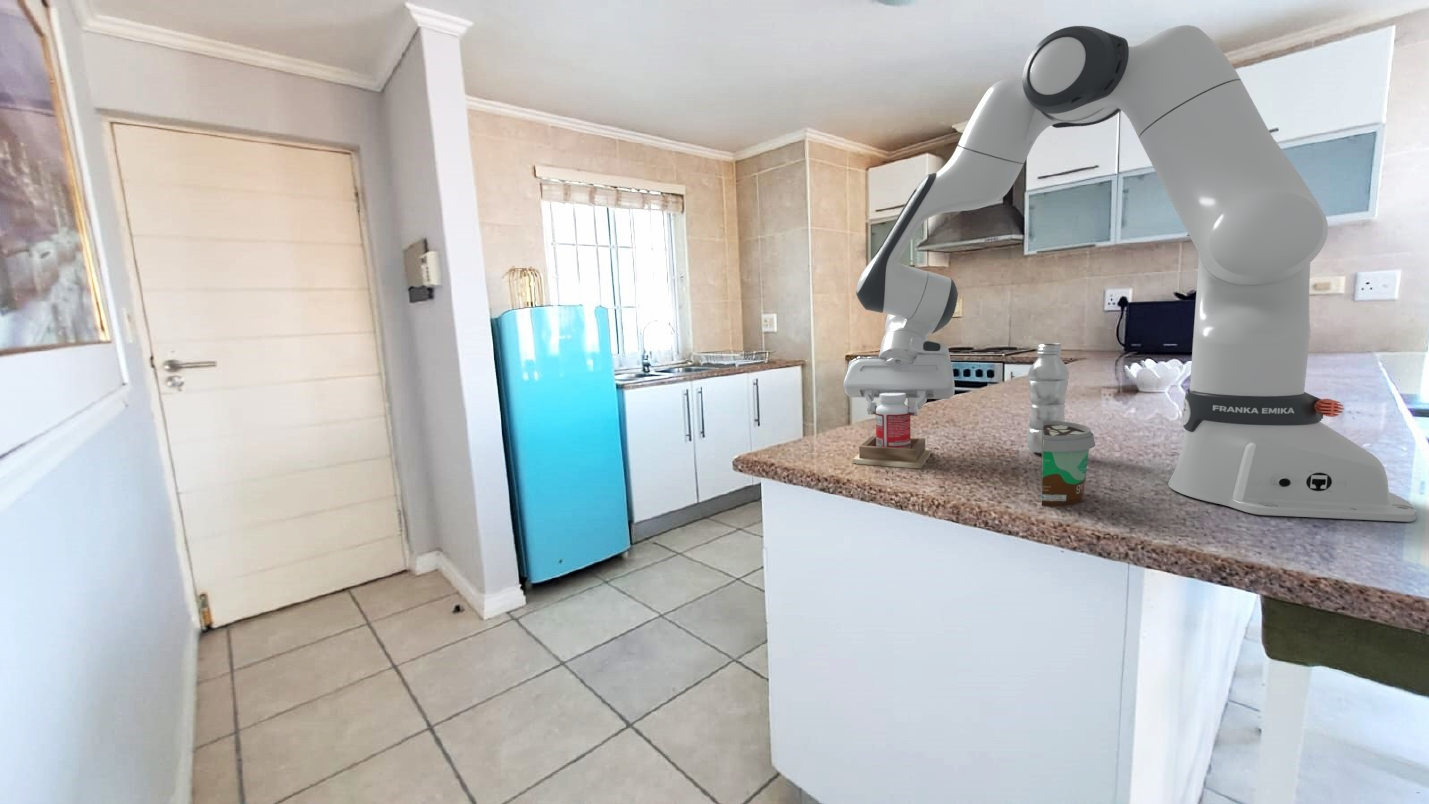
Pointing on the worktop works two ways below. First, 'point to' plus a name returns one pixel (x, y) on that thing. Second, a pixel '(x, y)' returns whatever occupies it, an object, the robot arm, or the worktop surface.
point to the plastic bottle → (1046, 392)
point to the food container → (1064, 462)
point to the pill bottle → (893, 421)
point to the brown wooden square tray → (893, 454)
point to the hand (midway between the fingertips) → (892, 413)
